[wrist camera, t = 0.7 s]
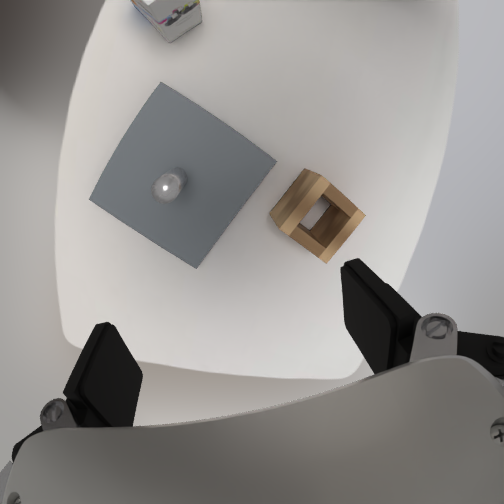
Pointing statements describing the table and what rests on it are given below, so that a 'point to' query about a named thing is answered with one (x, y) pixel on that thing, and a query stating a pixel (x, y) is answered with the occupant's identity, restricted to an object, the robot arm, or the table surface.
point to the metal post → (169, 185)
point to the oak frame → (329, 225)
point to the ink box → (170, 15)
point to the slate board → (196, 167)
